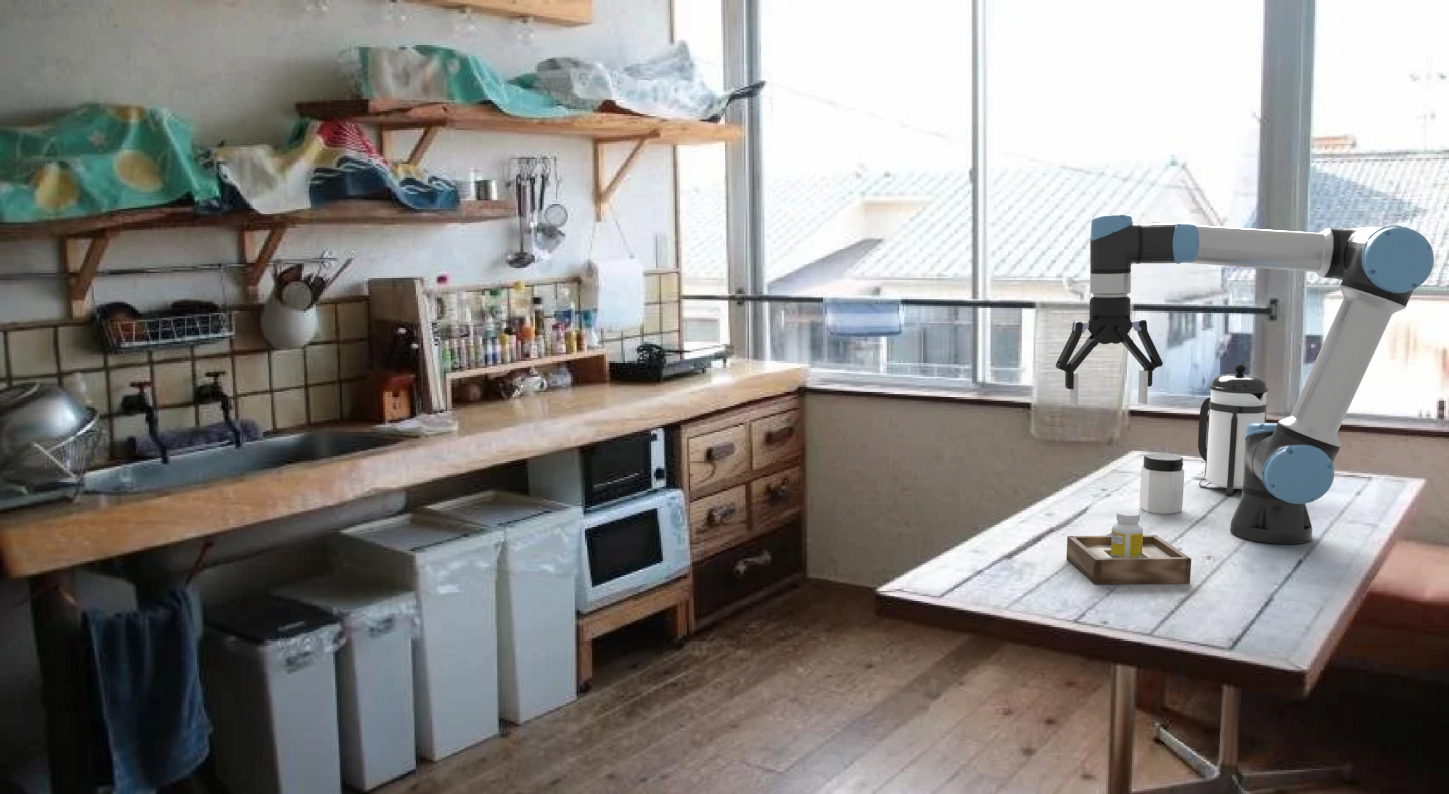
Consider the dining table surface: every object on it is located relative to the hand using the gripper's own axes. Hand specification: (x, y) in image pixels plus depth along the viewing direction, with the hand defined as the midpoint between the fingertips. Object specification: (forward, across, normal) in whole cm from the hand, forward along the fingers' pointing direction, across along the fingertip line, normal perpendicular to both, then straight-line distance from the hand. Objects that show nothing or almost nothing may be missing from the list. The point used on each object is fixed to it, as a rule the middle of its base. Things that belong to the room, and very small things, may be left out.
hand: (1108, 404), depth 238 cm
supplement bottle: (+27, +3, +19) cm, 33 cm away
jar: (+28, -22, -27) cm, 45 cm away
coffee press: (+29, -46, -47) cm, 72 cm away
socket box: (+28, +3, +19) cm, 34 cm away
